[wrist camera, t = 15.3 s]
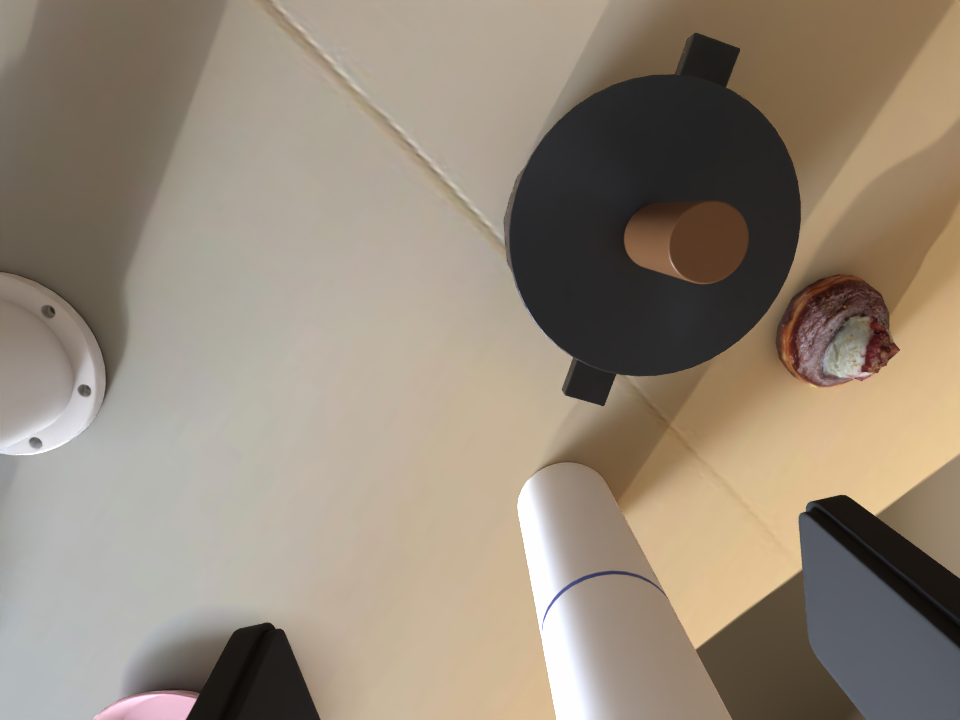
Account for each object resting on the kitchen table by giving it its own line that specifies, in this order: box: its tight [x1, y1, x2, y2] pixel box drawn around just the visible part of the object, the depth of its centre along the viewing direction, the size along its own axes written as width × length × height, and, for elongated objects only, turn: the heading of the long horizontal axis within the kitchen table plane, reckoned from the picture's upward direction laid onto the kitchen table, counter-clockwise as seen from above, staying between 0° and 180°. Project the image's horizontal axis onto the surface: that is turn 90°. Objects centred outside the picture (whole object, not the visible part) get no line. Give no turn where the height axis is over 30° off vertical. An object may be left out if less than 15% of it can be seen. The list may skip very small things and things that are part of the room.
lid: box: [508, 74, 801, 376], centre depth 24 cm, size 15×15×7 cm
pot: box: [504, 33, 740, 406], centre depth 31 cm, size 14×19×8 cm
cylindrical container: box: [518, 462, 732, 720], centre depth 29 cm, size 7×7×25 cm
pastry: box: [776, 275, 900, 388], centre depth 35 cm, size 8×8×5 cm
